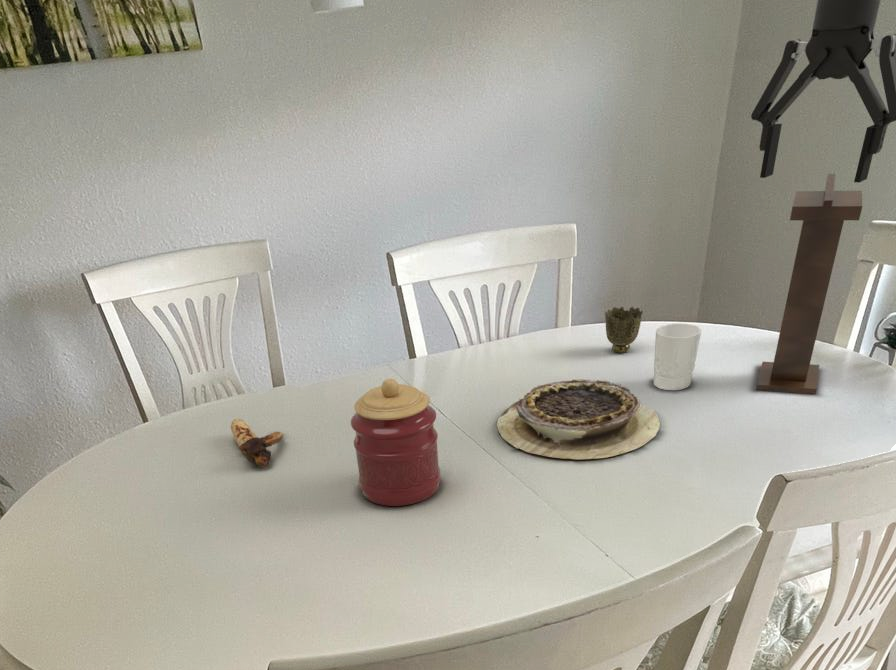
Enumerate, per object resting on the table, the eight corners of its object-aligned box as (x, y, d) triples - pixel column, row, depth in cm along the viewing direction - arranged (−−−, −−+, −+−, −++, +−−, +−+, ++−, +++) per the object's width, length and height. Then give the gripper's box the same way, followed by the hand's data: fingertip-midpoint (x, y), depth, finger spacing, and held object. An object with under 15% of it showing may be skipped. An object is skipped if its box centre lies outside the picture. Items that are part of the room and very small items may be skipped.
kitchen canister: (403, 461, 132) (392, 357, 121) (457, 484, 124) (452, 375, 113) (344, 491, 125) (327, 383, 114) (397, 516, 118) (385, 404, 107)
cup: (599, 355, 162) (601, 316, 157) (606, 344, 168) (609, 305, 163) (635, 358, 160) (639, 317, 155) (641, 345, 165) (645, 306, 160)
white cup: (642, 381, 150) (647, 328, 144) (677, 373, 152) (683, 320, 146) (666, 395, 144) (672, 340, 138) (702, 386, 146) (710, 331, 140)
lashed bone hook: (299, 463, 136) (271, 425, 148) (296, 438, 133) (267, 401, 145) (247, 475, 133) (223, 435, 146) (242, 450, 130) (218, 411, 143)
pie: (691, 432, 132) (695, 403, 128) (557, 477, 123) (558, 447, 120) (589, 383, 152) (591, 357, 149) (468, 419, 143) (467, 392, 140)
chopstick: (833, 181, 136) (835, 173, 135) (830, 209, 121) (832, 200, 120) (826, 181, 136) (827, 173, 135) (822, 209, 121) (824, 200, 120)
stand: (818, 370, 148) (862, 190, 129) (815, 394, 139) (862, 206, 120) (761, 366, 151) (796, 191, 132) (756, 390, 143) (792, 206, 124)
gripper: (744, 0, 106) (719, 178, 119) (948, -18, 92) (893, 188, 105) (769, -4, 110) (742, 170, 123) (968, -21, 96) (913, 177, 109)
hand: (811, 178), depth 114 cm, fingers open, 13 cm apart
